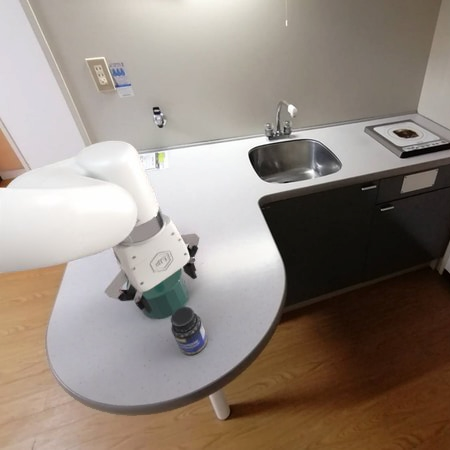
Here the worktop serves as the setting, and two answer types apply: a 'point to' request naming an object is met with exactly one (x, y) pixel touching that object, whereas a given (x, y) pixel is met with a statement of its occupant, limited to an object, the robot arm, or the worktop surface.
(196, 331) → the pill bottle
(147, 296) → the pot lid
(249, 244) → the worktop surface
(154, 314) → the pot
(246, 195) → the worktop surface
